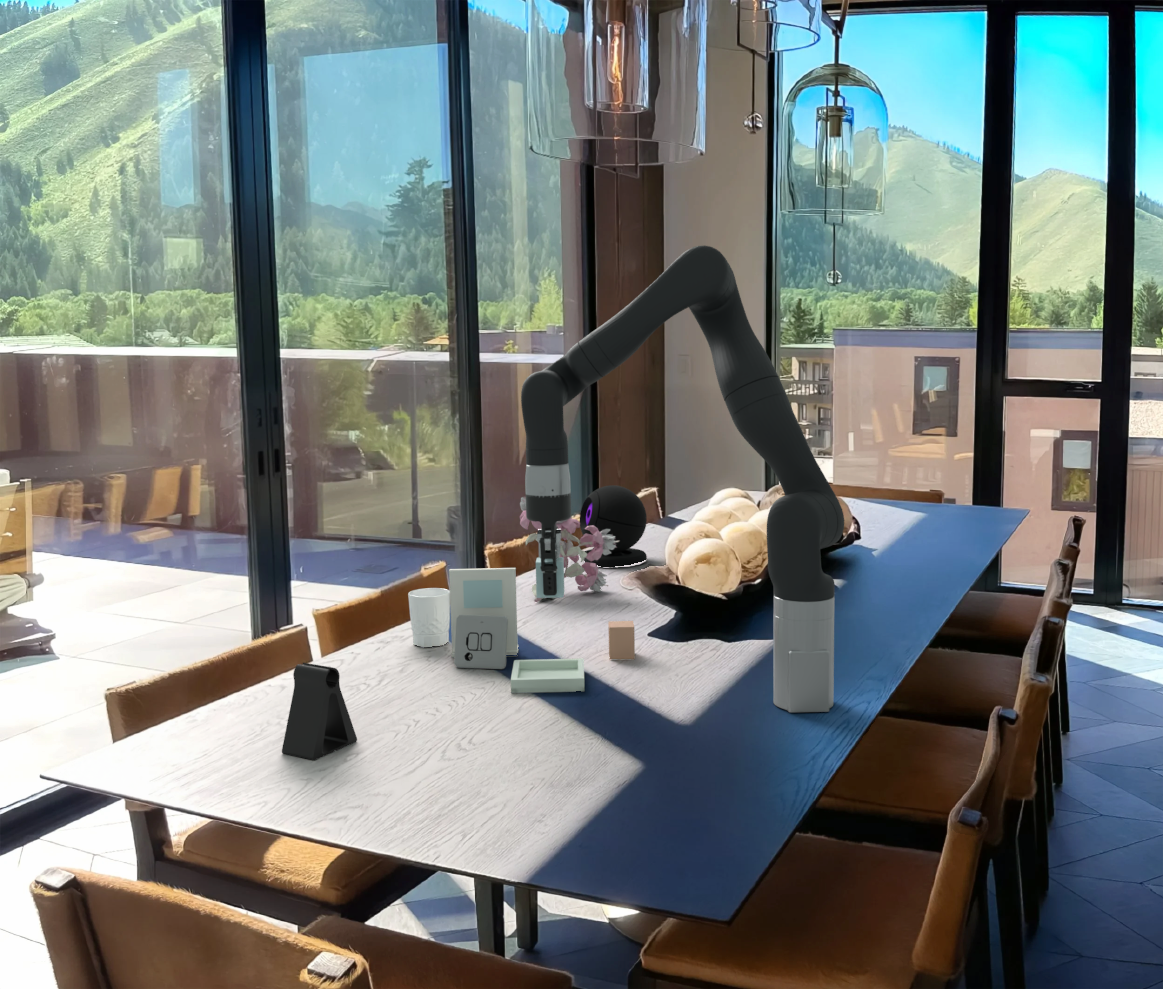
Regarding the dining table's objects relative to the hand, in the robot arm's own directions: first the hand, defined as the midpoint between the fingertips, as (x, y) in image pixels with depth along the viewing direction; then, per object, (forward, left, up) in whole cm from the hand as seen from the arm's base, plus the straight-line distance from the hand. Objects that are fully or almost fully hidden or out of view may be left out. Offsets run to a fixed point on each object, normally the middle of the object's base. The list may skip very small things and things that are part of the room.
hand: (550, 591), depth 195 cm
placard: (+16, +13, -15) cm, 25 cm away
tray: (-2, +1, -15) cm, 15 cm away
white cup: (+25, +24, -15) cm, 38 cm away
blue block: (0, 0, -1) cm, 1 cm away
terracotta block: (+13, -12, -15) cm, 24 cm away
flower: (+66, -3, -15) cm, 68 cm away
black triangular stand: (-32, +33, -15) cm, 48 cm away
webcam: (+104, -14, -15) cm, 106 cm away
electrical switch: (+9, +13, -15) cm, 22 cm away
